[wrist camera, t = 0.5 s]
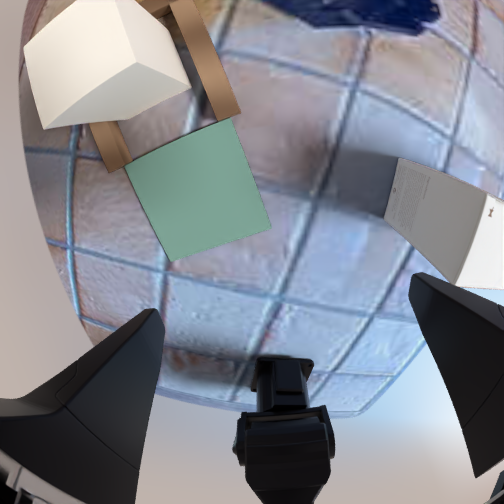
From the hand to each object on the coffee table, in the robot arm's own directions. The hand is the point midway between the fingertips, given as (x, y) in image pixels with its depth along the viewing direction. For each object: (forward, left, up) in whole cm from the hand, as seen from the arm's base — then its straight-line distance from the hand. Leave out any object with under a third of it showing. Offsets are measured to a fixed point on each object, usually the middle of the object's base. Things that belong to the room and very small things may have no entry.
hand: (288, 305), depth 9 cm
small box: (+2, -14, -13) cm, 19 cm away
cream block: (+9, +10, -13) cm, 19 cm away
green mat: (-1, +6, -13) cm, 14 cm away
